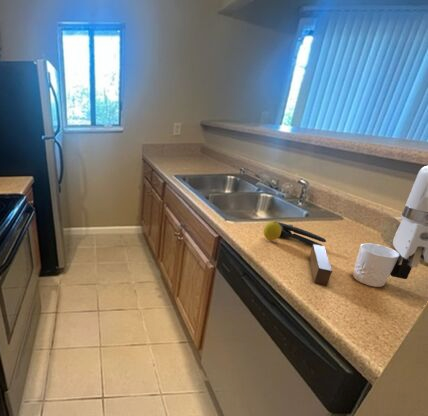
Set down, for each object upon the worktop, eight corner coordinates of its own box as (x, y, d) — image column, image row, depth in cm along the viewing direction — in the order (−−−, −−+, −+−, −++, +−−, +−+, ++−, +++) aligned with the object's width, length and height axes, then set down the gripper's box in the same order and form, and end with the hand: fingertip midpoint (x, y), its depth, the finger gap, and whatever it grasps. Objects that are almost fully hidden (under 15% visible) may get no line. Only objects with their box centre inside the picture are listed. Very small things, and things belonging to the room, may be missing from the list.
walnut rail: (320, 259, 90) (324, 246, 88) (327, 286, 77) (332, 271, 76) (309, 257, 92) (313, 244, 90) (314, 282, 79) (318, 268, 77)
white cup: (387, 292, 74) (401, 260, 71) (349, 281, 79) (360, 251, 76) (385, 278, 80) (398, 248, 76) (350, 269, 85) (360, 240, 81)
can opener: (265, 234, 107) (268, 221, 105) (273, 229, 111) (276, 217, 109) (320, 252, 94) (324, 237, 92) (326, 246, 98) (331, 231, 96)
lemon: (268, 236, 106) (272, 217, 103) (282, 242, 101) (286, 222, 98) (258, 239, 104) (262, 219, 101) (271, 245, 99) (276, 225, 96)
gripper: (462, 229, 61) (428, 296, 68) (432, 208, 73) (406, 266, 80) (415, 223, 65) (387, 286, 72) (393, 203, 77) (371, 260, 83)
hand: (397, 276), depth 76 cm, fingers closed
